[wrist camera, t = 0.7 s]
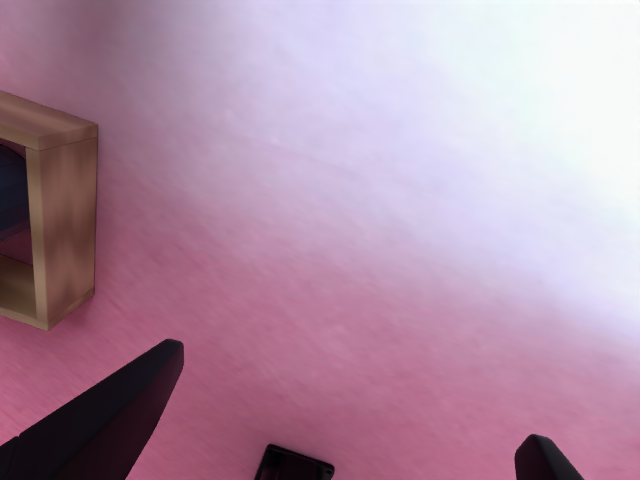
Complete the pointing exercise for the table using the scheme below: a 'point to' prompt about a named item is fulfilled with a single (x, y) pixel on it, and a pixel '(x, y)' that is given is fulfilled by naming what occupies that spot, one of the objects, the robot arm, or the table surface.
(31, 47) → the table surface
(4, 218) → the tumbler
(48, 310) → the crate
